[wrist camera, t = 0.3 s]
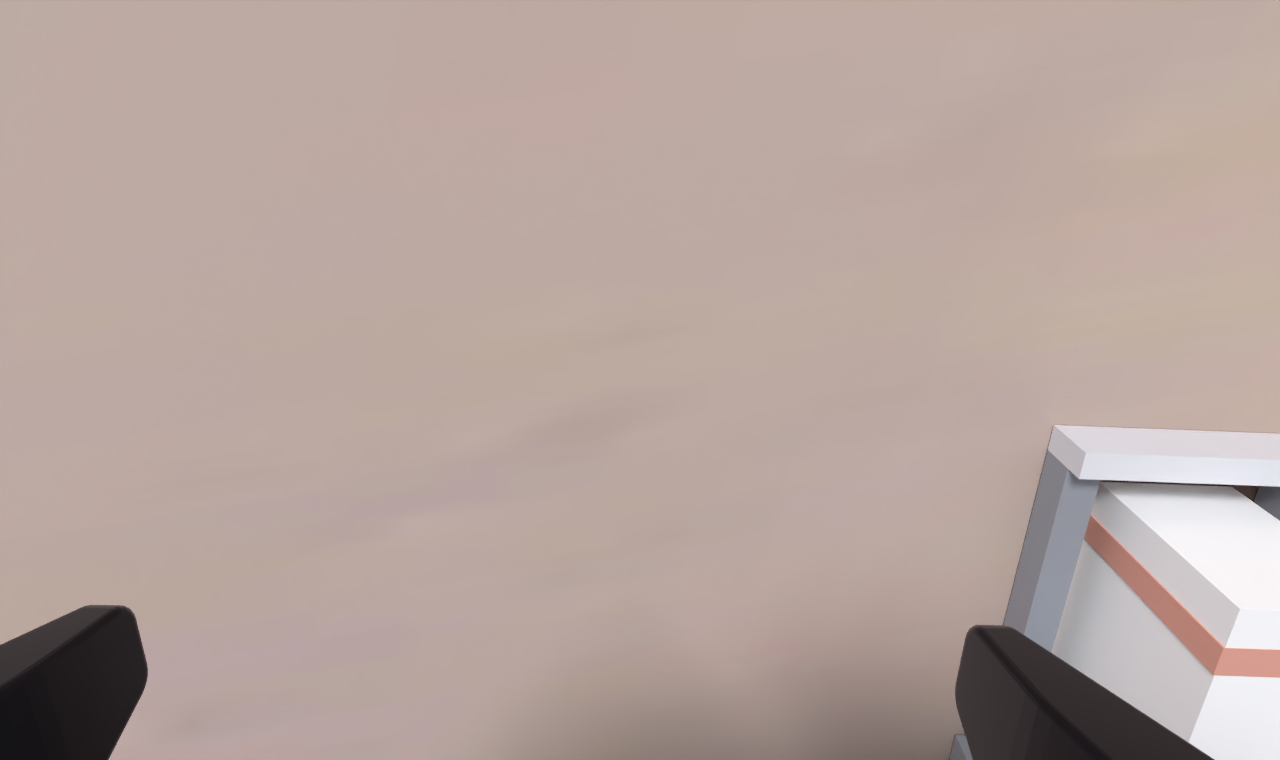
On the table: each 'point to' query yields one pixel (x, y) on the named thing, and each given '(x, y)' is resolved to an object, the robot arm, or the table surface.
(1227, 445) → the grey frame stand
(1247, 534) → the white banded block
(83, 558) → the table surface
